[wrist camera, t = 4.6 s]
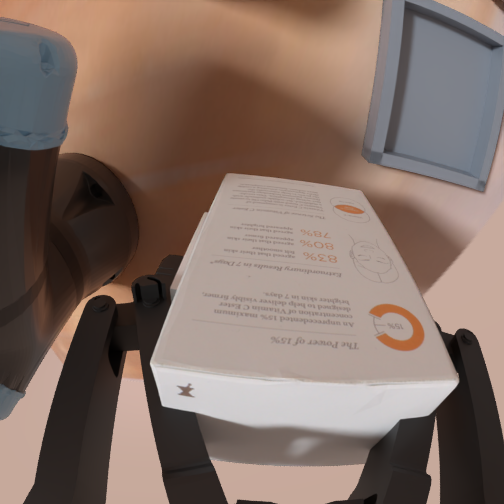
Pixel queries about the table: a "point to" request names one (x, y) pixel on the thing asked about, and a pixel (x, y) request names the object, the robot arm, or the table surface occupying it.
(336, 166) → the table surface
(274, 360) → the small box
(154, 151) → the table surface
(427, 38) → the tray
